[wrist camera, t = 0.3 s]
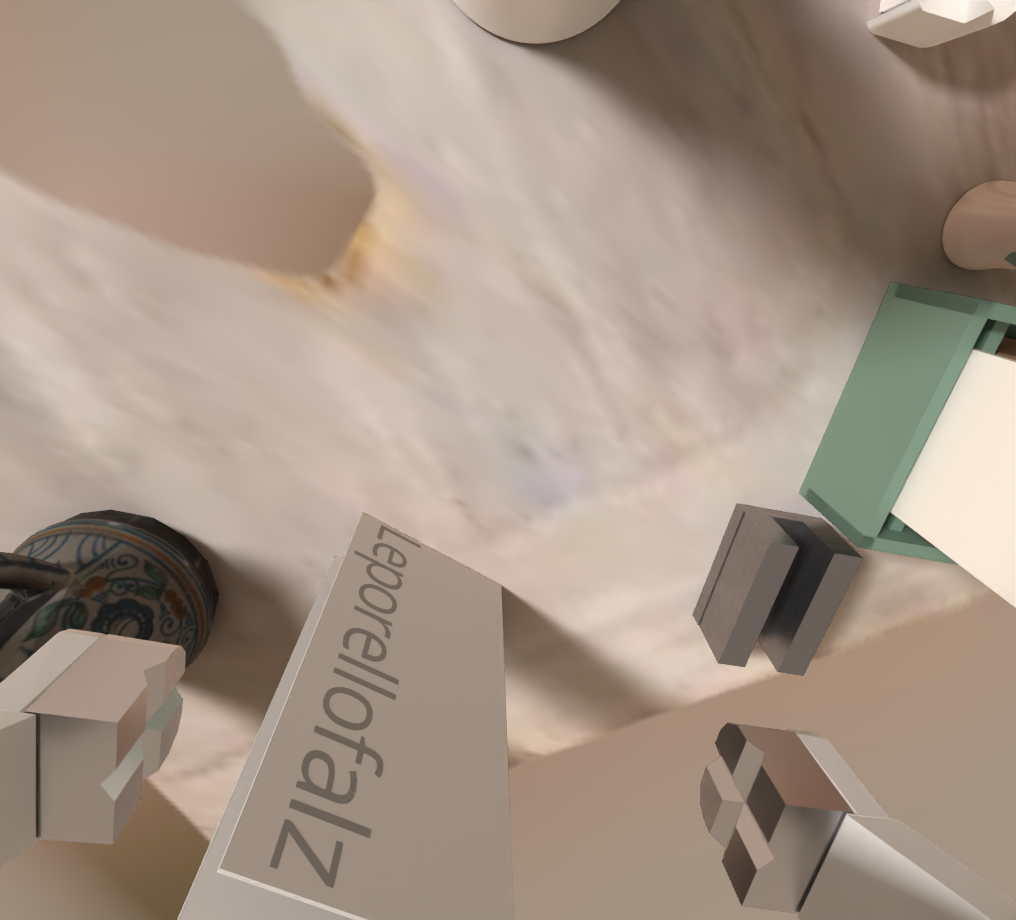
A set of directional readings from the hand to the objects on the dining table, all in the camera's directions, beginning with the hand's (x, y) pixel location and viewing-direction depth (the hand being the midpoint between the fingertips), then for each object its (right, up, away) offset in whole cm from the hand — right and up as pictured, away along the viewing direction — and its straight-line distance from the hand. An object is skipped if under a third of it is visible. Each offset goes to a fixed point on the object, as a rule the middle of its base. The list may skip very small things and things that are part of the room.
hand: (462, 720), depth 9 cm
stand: (+23, -6, +46) cm, 52 cm away
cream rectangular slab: (+30, +8, +39) cm, 50 cm away
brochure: (-7, -6, +45) cm, 46 cm away
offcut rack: (+35, +8, +40) cm, 54 cm away
